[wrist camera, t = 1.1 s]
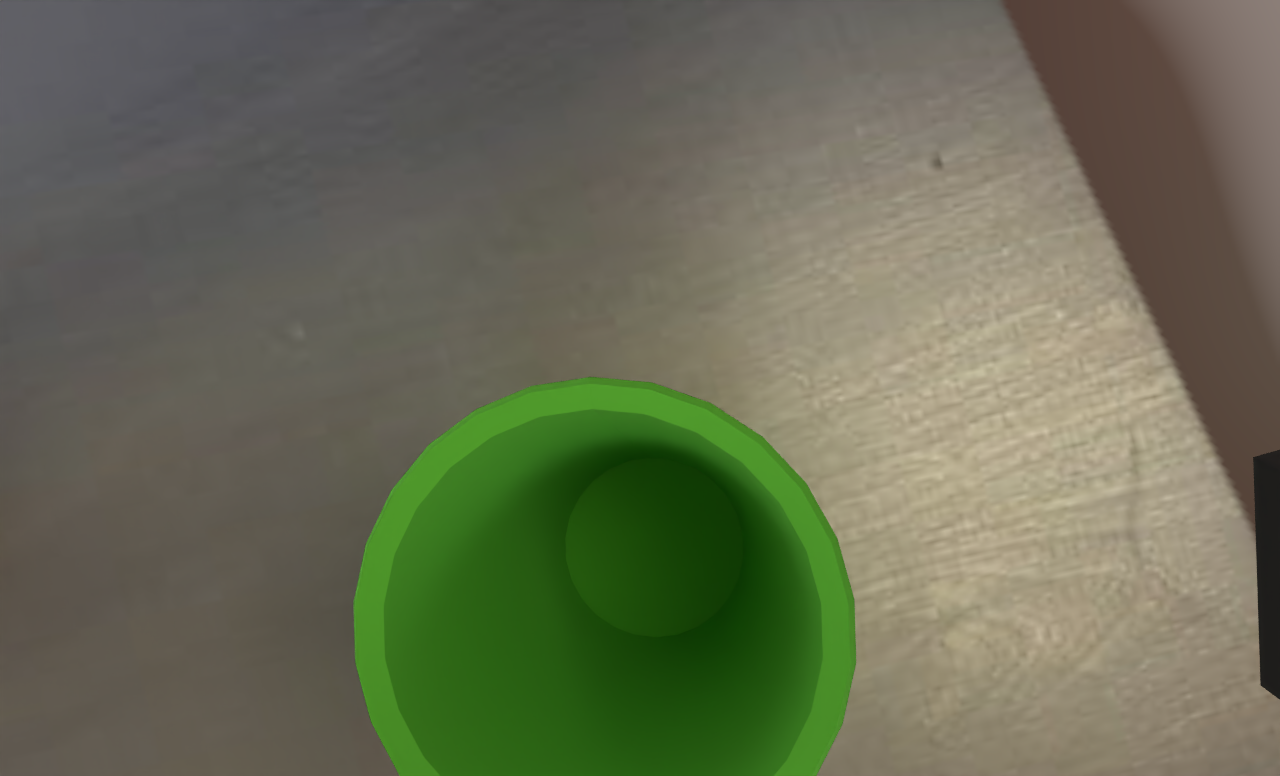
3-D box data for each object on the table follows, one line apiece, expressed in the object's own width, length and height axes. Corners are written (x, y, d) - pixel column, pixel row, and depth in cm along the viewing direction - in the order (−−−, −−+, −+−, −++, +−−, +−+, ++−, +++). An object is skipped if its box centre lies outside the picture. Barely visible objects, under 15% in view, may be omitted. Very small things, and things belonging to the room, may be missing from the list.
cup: (502, 705, 30) (355, 887, 19) (493, 385, 30) (342, 384, 19) (823, 707, 29) (863, 900, 18) (814, 376, 29) (848, 369, 18)
